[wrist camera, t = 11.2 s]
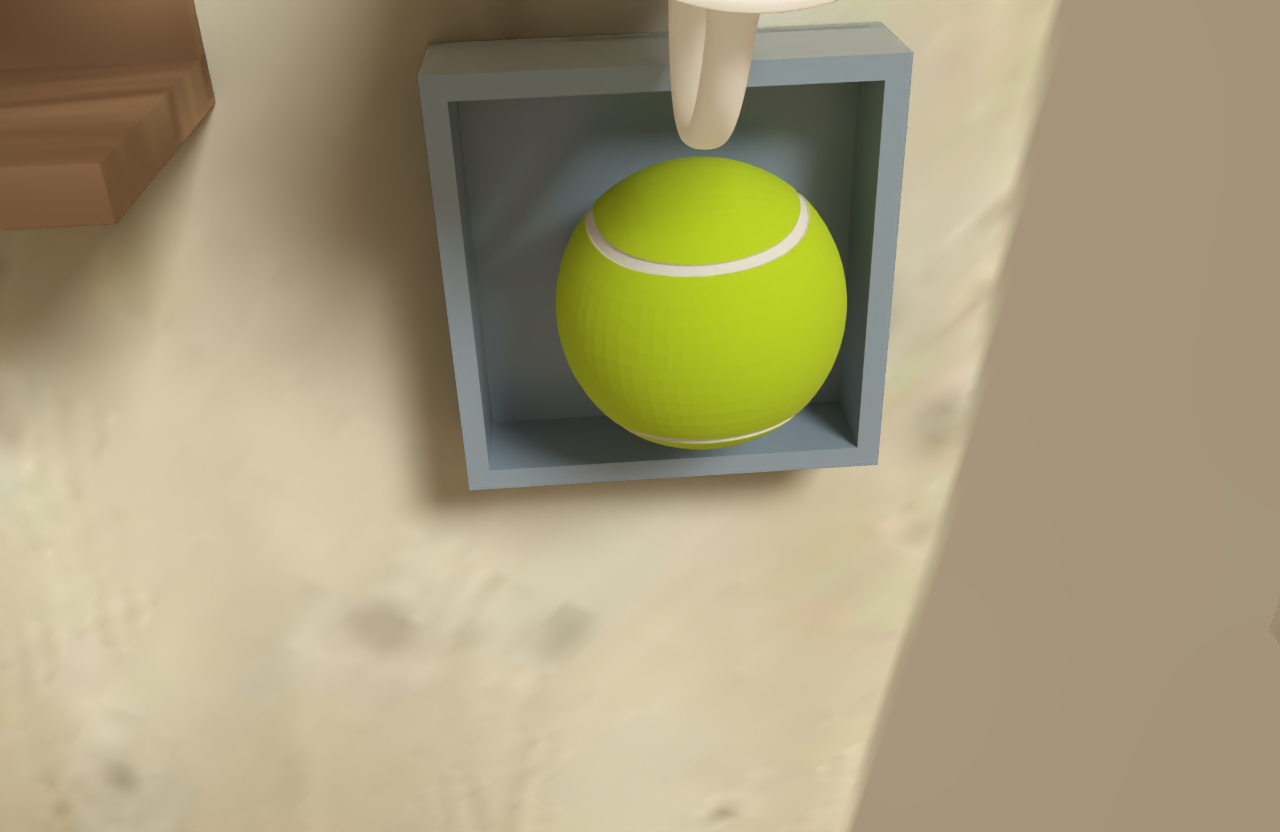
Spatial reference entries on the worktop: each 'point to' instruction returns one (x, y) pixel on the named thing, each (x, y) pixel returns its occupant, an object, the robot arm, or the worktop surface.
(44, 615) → the worktop surface
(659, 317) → the tennis ball
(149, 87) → the bookend
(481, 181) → the dish
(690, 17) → the mug
